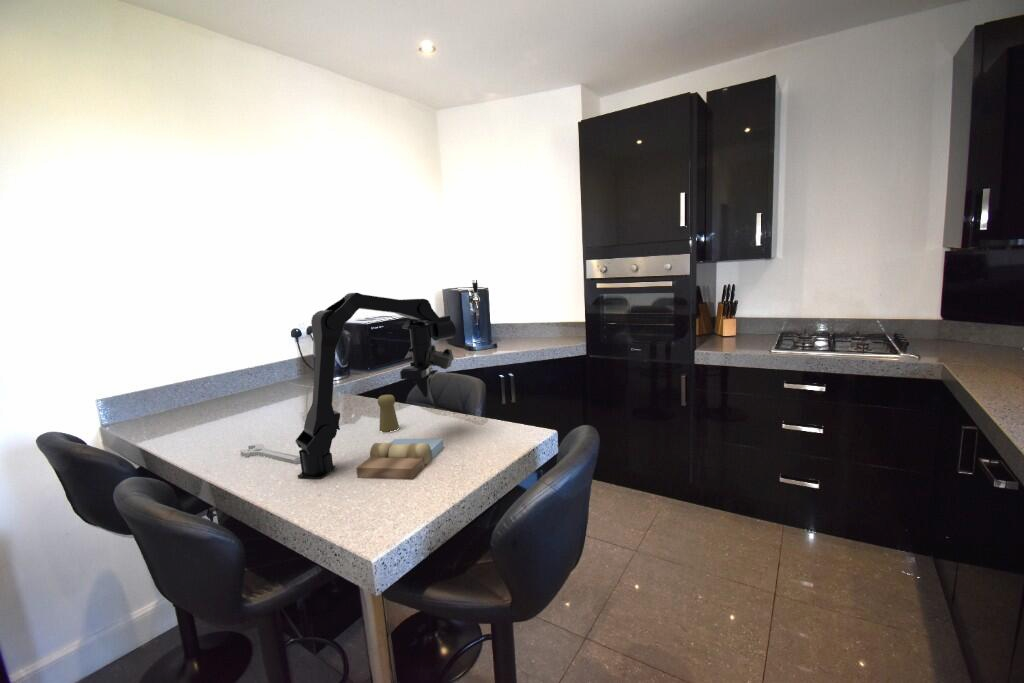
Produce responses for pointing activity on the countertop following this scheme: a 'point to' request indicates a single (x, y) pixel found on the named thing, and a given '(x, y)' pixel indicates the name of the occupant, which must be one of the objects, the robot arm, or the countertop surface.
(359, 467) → the wooden tray with rolls
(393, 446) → the light blue block
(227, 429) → the countertop surface
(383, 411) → the cork
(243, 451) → the adjustable wrench
